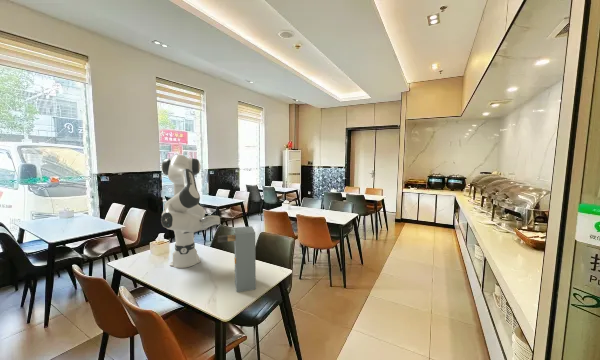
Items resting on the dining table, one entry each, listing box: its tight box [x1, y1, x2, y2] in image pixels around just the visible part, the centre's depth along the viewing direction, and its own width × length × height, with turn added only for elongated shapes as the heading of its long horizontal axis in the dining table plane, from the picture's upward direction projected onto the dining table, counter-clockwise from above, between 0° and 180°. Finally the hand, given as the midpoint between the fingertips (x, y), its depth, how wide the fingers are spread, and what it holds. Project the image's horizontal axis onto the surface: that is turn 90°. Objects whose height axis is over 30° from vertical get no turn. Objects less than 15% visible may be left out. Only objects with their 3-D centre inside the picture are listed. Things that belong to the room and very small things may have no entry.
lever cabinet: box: [233, 226, 257, 293], centre depth 135 cm, size 13×11×31 cm
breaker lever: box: [217, 234, 235, 244], centre depth 132 cm, size 3×16×3 cm, turn 109°
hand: (212, 225), depth 138 cm, fingers open, 8 cm apart
